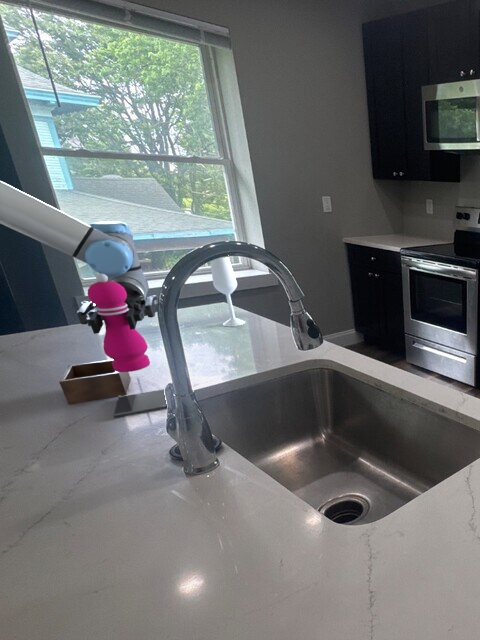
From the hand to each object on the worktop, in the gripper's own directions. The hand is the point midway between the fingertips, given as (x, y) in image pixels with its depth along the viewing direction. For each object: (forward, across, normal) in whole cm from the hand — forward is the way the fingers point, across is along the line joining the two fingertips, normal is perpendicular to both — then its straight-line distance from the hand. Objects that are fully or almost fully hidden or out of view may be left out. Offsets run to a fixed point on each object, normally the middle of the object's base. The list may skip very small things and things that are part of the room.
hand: (112, 324), depth 92 cm
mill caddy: (-17, +9, -20) cm, 28 cm away
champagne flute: (-59, -21, -20) cm, 66 cm away
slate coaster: (-5, 0, -20) cm, 20 cm away
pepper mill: (-5, 0, -11) cm, 12 cm away
